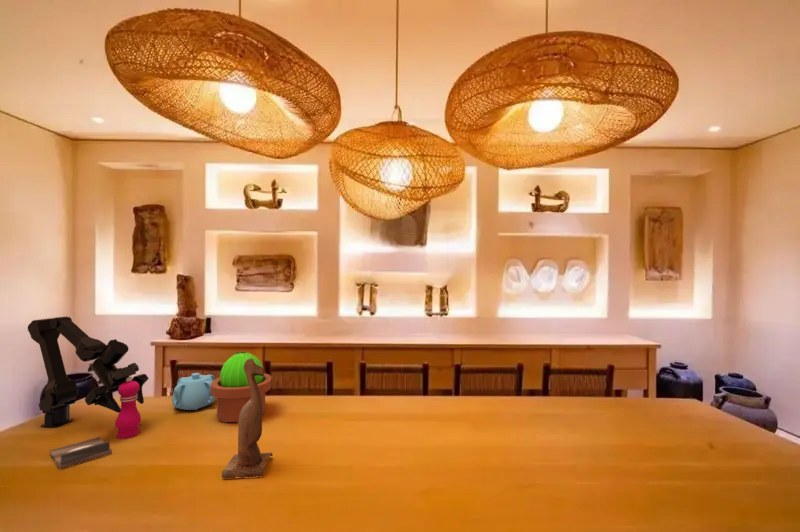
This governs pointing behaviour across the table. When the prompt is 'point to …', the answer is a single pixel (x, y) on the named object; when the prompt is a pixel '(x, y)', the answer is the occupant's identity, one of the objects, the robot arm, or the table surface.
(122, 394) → the pepper mill
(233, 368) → the potted cactus
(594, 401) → the table surface
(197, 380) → the decorative pot
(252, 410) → the bird sculpture
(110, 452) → the flat brown board
